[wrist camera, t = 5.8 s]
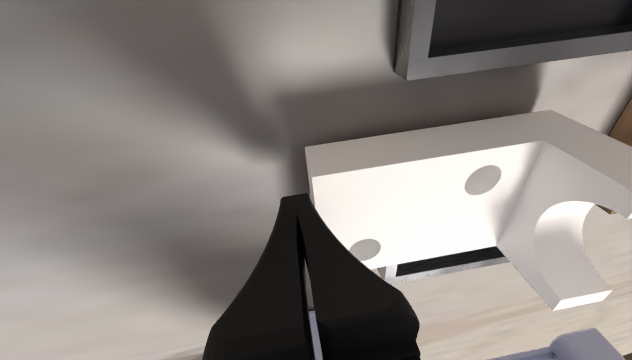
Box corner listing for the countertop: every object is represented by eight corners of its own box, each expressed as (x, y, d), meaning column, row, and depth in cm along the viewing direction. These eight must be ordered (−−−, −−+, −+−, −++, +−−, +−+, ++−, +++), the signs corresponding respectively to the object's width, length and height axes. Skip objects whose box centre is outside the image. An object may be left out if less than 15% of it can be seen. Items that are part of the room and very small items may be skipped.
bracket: (536, 102, 15) (715, 185, 9) (497, 200, 19) (602, 300, 13) (302, 138, 14) (330, 254, 8) (314, 232, 19) (338, 354, 13)
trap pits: (526, 241, 23) (540, 255, 21) (377, 268, 22) (384, 285, 21) (717, -105, 11) (773, -115, 10) (405, -75, 10) (424, -82, 9)
